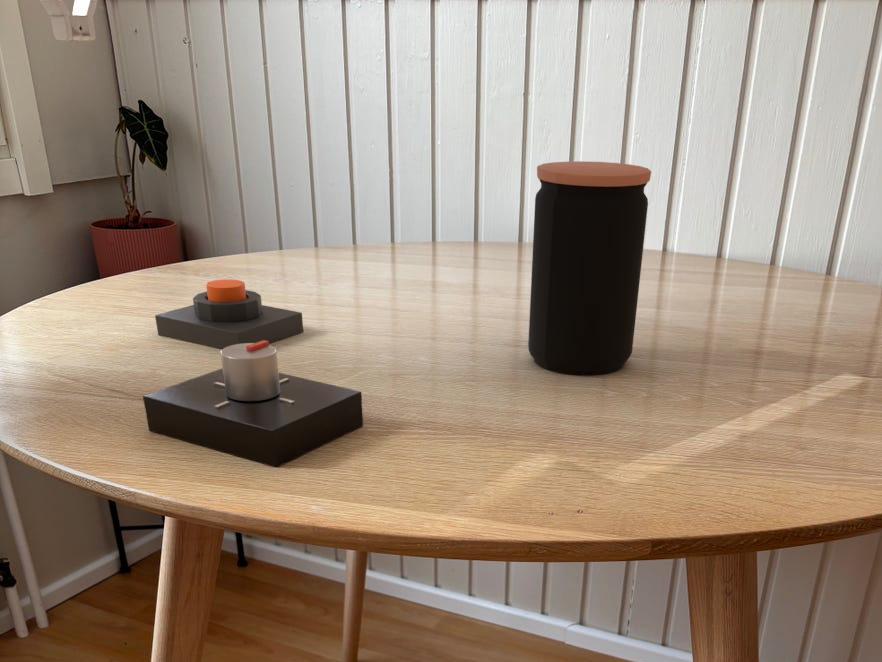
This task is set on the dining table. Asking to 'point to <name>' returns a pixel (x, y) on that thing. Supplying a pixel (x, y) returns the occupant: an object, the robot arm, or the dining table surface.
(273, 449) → the dial panel
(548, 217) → the coffee jar
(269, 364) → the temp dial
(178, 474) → the dining table surface
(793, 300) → the dining table surface
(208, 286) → the power button
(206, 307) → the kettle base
